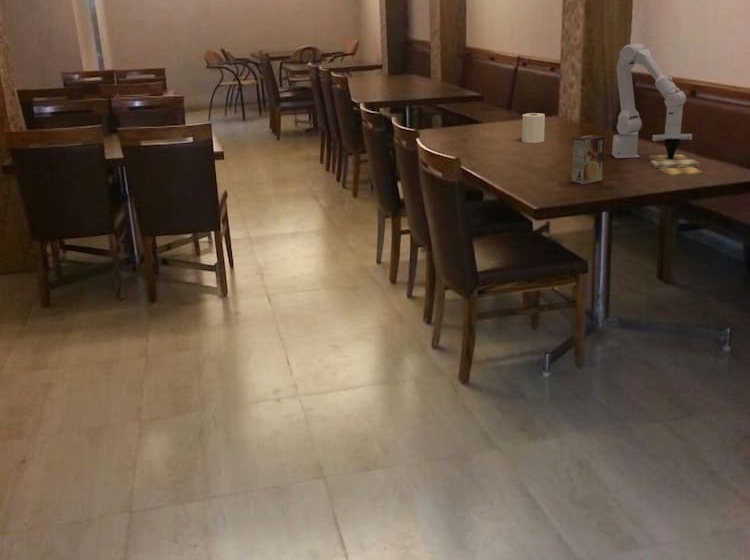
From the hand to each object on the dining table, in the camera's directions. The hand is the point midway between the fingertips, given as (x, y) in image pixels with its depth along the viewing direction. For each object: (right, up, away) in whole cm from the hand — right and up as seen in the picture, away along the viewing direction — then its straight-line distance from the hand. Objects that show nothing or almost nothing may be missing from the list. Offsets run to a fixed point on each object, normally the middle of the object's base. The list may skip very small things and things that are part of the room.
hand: (670, 158), depth 300 cm
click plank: (0, 0, +2) cm, 2 cm away
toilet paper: (-43, +16, +53) cm, 70 cm away
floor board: (-1, -4, -7) cm, 8 cm away
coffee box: (-39, -12, -22) cm, 47 cm away
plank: (-3, -8, -16) cm, 19 cm away
